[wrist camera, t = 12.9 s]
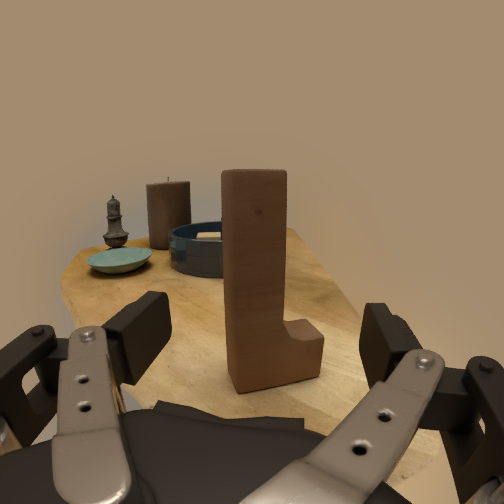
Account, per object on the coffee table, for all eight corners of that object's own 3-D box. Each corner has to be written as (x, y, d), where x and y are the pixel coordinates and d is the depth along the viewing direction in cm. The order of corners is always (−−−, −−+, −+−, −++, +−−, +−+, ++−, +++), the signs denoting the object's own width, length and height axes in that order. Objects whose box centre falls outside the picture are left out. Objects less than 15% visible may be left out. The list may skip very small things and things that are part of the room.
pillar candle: (199, 245, 63) (197, 175, 60) (155, 252, 58) (151, 177, 54) (183, 238, 71) (181, 176, 68) (144, 243, 66) (141, 178, 62)
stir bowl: (283, 248, 61) (284, 221, 60) (277, 281, 42) (278, 243, 41) (192, 245, 64) (191, 220, 62) (151, 274, 45) (148, 239, 44)
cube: (221, 253, 54) (220, 231, 53) (221, 259, 50) (220, 236, 49) (198, 254, 53) (197, 232, 52) (197, 260, 50) (196, 237, 49)
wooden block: (237, 395, 19) (231, 169, 16) (227, 369, 22) (220, 170, 19) (320, 376, 21) (336, 171, 17) (302, 355, 24) (312, 171, 20)
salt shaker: (110, 255, 56) (105, 196, 53) (100, 251, 59) (95, 196, 56) (134, 250, 60) (130, 193, 57) (123, 246, 64) (119, 193, 61)
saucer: (96, 284, 40) (93, 270, 39) (82, 266, 48) (81, 254, 48) (164, 269, 47) (163, 255, 47) (139, 255, 56) (138, 244, 55)
